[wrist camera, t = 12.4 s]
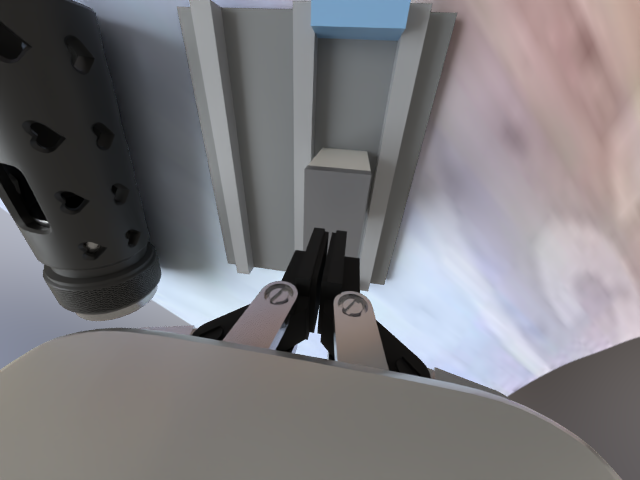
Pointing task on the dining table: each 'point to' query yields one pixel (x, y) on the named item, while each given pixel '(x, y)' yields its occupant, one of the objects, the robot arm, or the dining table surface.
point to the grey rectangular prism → (336, 195)
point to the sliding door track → (311, 113)
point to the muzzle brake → (71, 161)
